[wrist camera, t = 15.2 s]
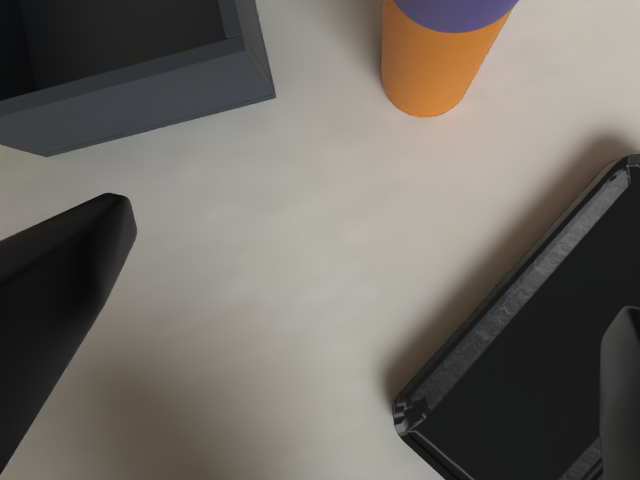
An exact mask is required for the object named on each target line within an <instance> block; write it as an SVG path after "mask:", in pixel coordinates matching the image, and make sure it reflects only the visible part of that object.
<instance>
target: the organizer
mask: <svg viewBox="0 0 640 480" xmlns="http://www.w3.org/2000/svg"><path fill="white" fill-rule="evenodd" d="M273 98H276V94H275V89H274V85H273V80H272V76H271V71H270V67H269V63H268V58H267V54H266V49H265V45H264V40H263V36H262V31H261V27H260V22H259V18H258V13H257V9H256V4H255V0H0V144H1V145H4V146H8V147H11V148H15V149H18V150H22V151H25V152H29V153H33V154H36V155H40V156H44V157H49V156H53V155H57V154H60V153H64V152H68V151H72V150H76V149H80V148H84V147H88V146H91V145H95V144H99V143H103V142H107V141H111V140H115V139H119V138H122V137H126V136H130V135H134V134H138V133H142V132H146V131H149V130H153V129H157V128H161V127H165V126H169V125H173V124H177V123H180V122H184V121H188V120H192V119H196V118H200V117H204V116H208V115H211V114H215V113H219V112H223V111H227V110H231V109H235V108H239V107H242V106H246V105H250V104H254V103H258V102H262V101H266V100H269V99H273Z"/></svg>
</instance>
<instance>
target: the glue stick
mask: <svg viewBox="0 0 640 480" xmlns="http://www.w3.org/2000/svg"><path fill="white" fill-rule="evenodd" d="M518 1H519V0H383V33H382V70H381V77H382V84H383V88H384V91H385V93H386V95H387V97H388V98H389V100H390V101H391V102H392V103H393V104H394V105H395V106H396V107H397V108H398V109H400V110H401V111H403V112H405V113H407V114H409V115H412V116H417V117H432V116H437V115H440V114H443V113H445V112H447V111H448V110H450V109H452V108H453V107H454V106H455V105H456V104H457V103H458V102H459V101H460V100H461V99H462V97H463V96H464V94H465V93H466V91H467V89H468V87H469V86H470V84H471V82H472V80H473V78H474V77H475V75H476V73H477V71H478V70H479V68H480V66H481V64H482V62H483V61H484V59H485V57H486V55H487V54H488V52H489V50H490V48H491V46H492V45H493V43H494V41H495V39H496V38H497V36H498V34H499V32H500V30H501V29H502V27H503V25H504V23H505V22H506V20H507V18H508V16H509V14H510V13H511V11H512V9H513V7H514V6H515V5H516V3H517V2H518Z"/></svg>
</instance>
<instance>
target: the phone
mask: <svg viewBox="0 0 640 480" xmlns="http://www.w3.org/2000/svg"><path fill="white" fill-rule="evenodd" d="M626 306H633V307H638V308H640V154H634V155H629V156H627V157H624V158H621V159H619V160H616V161H614V162H611V163H610V164H608V165H607V166H606V167H605V168H603V169H602V171H601V172H600V173H599V174H598V175H597V176H596V177H595V178H594V179H593V180H592V182H591V183H590V184H589V185H588V186H587V187H586V188H585V189H584V190H583V191H582V193H581V194H580V195H579V196H578V197H577V198H576V199H575V200H574V201H573V202H572V204H571V205H570V206H569V207H568V208H567V209H566V210H565V211H564V212H563V214H562V215H561V216H560V217H559V218H558V219H557V220H556V221H555V222H554V223H553V225H552V226H551V227H550V228H549V229H548V230H547V231H546V232H545V233H544V234H543V236H542V237H541V238H540V239H539V240H538V241H537V242H536V243H535V244H534V245H533V247H532V248H531V249H530V250H529V251H528V252H527V253H526V254H525V255H524V256H523V258H522V259H521V260H520V261H519V262H518V263H517V264H516V265H515V266H514V267H513V269H512V270H511V271H510V272H509V273H508V274H507V275H506V276H505V277H504V279H503V280H502V281H501V282H500V283H499V284H498V285H497V286H496V287H495V288H494V290H493V291H492V292H491V293H490V294H489V295H488V296H487V297H486V298H485V299H484V301H483V302H482V303H481V304H480V305H479V306H478V307H477V308H476V309H475V310H474V312H473V313H472V314H471V315H470V316H469V317H468V318H467V319H466V320H465V321H464V323H463V324H462V325H461V326H460V327H459V328H458V329H457V330H456V331H455V332H454V334H453V335H452V336H451V337H450V338H449V339H448V340H447V341H446V342H445V344H444V345H443V346H442V347H441V348H440V349H439V350H438V351H437V352H436V353H435V355H434V356H433V357H432V358H431V359H430V360H429V361H428V362H427V363H426V364H425V366H424V367H423V368H422V369H421V370H420V371H419V372H418V373H417V374H416V375H415V377H414V378H413V379H412V380H411V381H410V382H409V383H408V384H407V385H406V386H405V388H404V389H403V390H402V391H401V392H400V393H399V395H398V396H397V398H396V399H395V402H394V406H393V418H394V426H395V429H396V431H397V434H398V435H399V436H400V438H401V439H402V440H403V441H404V442H405V443H406V444H407V445H408V446H409V447H410V448H411V449H413V450H414V451H415V452H416V453H417V454H418V455H419V456H420V457H421V458H422V459H423V460H425V461H426V462H427V463H428V464H429V465H430V466H431V467H432V468H433V469H434V470H435V471H437V472H438V473H439V474H440V475H441V476H442V477H443V478H444V479H445V480H604V476H603V467H602V457H601V448H600V437H599V380H600V345H601V340H602V337H603V335H604V333H605V332H606V330H607V329H608V327H609V326H610V325H611V323H612V322H613V320H614V319H615V318H616V316H617V315H618V313H619V312H620V311H621V310H622V308H624V307H626Z"/></svg>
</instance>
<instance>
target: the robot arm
mask: <svg viewBox="0 0 640 480" xmlns="http://www.w3.org/2000/svg"><path fill="white" fill-rule="evenodd" d="M136 235H137V227H136V223H135V219H134V215H133V210H132V206H131V203H130V200H129V199H128V198H127V197H125V196H122V195H118V194H113V193H104V194H102V195H100V196H97V197H95V198H93V199H91V200H89V201H87V202H84V203H82V204H80V205H78V206H76V207H73V208H71V209H69V210H67V211H65V212H63V213H60V214H58V215H56V216H54V217H52V218H50V219H47V220H45V221H43V222H41V223H39V224H36V225H34V226H32V227H30V228H28V229H26V230H23V231H21V232H19V233H17V234H15V235H12V236H10V237H8V238H6V239H4V240H2V241H0V475H1V473H2V471H3V470H4V468H5V466H6V465H7V463H8V462H9V460H10V458H11V457H12V455H13V453H14V452H15V450H16V449H17V447H18V445H19V444H20V442H21V440H22V439H23V437H24V436H25V434H26V432H27V431H28V429H29V427H30V426H31V424H32V423H33V421H34V419H35V418H36V416H37V414H38V413H39V411H40V410H41V408H42V406H43V405H44V403H45V401H46V400H47V398H48V397H49V395H50V393H51V392H52V390H53V388H54V387H55V385H56V384H57V382H58V380H59V379H60V377H61V375H62V374H63V372H64V371H65V369H66V367H67V366H68V364H69V362H70V361H71V359H72V357H73V356H74V354H75V353H76V351H77V349H78V348H79V346H80V344H81V343H82V341H83V340H84V338H85V336H86V335H87V333H88V331H89V330H90V328H91V327H92V325H93V323H94V322H95V320H96V318H97V317H98V315H99V313H100V312H101V310H102V308H103V307H104V305H105V303H106V301H107V299H108V297H109V295H110V293H111V291H112V289H113V287H114V284H115V282H116V280H117V278H118V276H119V274H120V272H121V269H122V267H123V265H124V263H125V261H126V259H127V257H128V254H129V252H130V250H131V248H132V246H133V244H134V242H135V239H136ZM599 437H600V448H601V457H602V467H603V476H604V480H640V308H638V307H633V306H626V307H624V308H622V310H621V311H620V312H619V313H618V315H617V316H616V318H615V319H614V320H613V322H612V323H611V325H610V326H609V327H608V329H607V330H606V332H605V333H604V335H603V337H602V340H601V345H600V380H599Z"/></svg>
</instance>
